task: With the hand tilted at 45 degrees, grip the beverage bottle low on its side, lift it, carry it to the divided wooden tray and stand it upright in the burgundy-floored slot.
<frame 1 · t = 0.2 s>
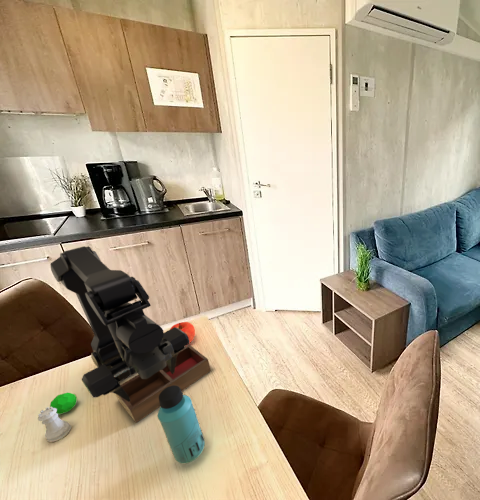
hand: (151, 386, 66), 14 cm above the table, tool pointing down, fingers open, 9 cm apart
divided wooden tray: (167, 385, 82), on the table
polyhedron: (67, 409, 75), on the table
beverage bottle: (191, 453, 66), on the table
rook chess piece: (60, 434, 70), on the table
apple: (184, 342, 99), on the table
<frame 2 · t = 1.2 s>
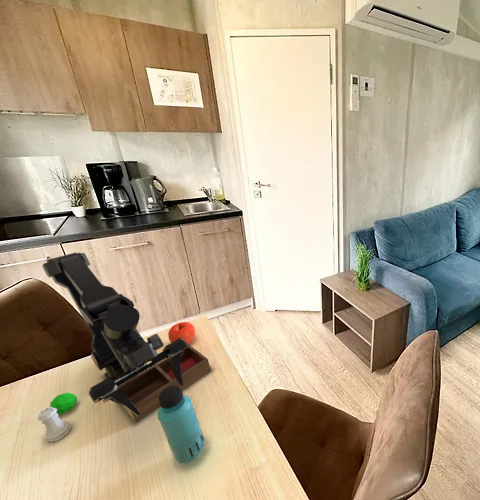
hand: (161, 399, 64), 12 cm above the table, tool tilted 45°, fingers open, 9 cm apart
nothing on the table moved.
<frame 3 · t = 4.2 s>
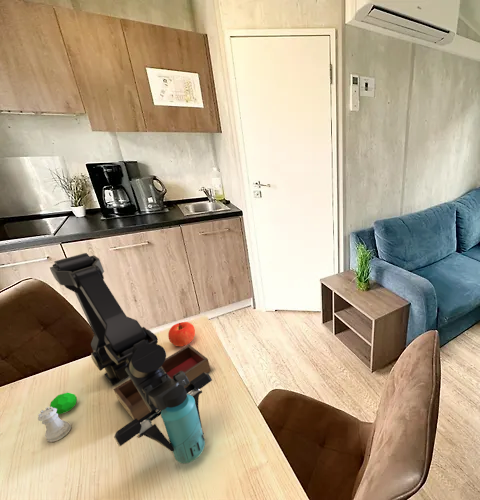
hand: (187, 439, 62), 7 cm above the table, tool tilted 45°, fingers closed on beverage bottle, 6 cm apart
beverage bottle: (191, 453, 66), on the table, touching gripper
everything else where it was.
when the fingers open (7 cm above the table, at t = 14.6 s): beverage bottle stays where it is, resting on divided wooden tray.
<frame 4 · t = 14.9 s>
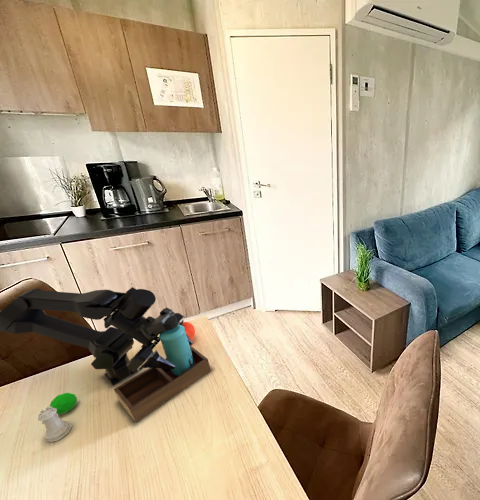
hand: (183, 355, 83), 7 cm above the table, tool tilted 45°, fingers open, 9 cm apart
beverage bottle: (184, 371, 86), point 1 cm above the table, touching gripper, divided wooden tray
everything else where it was.
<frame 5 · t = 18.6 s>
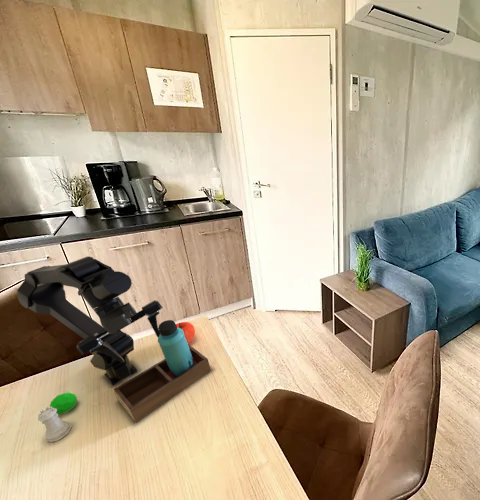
hand: (142, 350, 77), 14 cm above the table, tool tilted 30°, fingers open, 9 cm apart
beverage bottle: (184, 370, 86), point 1 cm above the table, touching divided wooden tray
everything else where it was.
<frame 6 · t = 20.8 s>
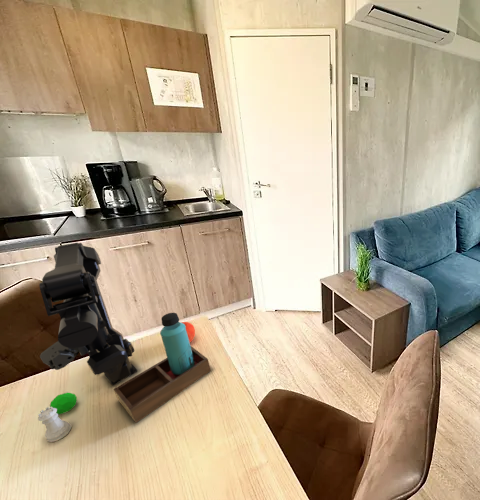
hand: (108, 372, 71), 13 cm above the table, tool pointing down, fingers open, 9 cm apart
at the end: beverage bottle 0.4 cm from the target spot in the divided wooden tray, point 0.6 cm above the divided wooden tray's base; beverage bottle tilted 3°; the gripper is holding nothing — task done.
